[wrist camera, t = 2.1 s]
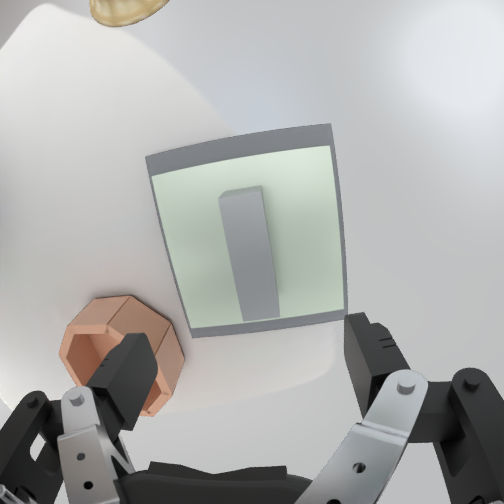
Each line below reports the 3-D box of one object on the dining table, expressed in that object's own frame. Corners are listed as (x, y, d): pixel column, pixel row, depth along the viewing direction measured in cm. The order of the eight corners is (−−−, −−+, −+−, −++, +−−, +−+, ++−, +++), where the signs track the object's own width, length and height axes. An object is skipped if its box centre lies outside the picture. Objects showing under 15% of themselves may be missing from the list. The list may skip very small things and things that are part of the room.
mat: (148, 156, 20) (145, 156, 19) (329, 124, 19) (330, 123, 18) (193, 334, 25) (192, 338, 24) (346, 314, 24) (348, 318, 23)
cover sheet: (155, 175, 20) (133, 181, 16) (327, 145, 19) (340, 145, 15) (193, 322, 24) (182, 351, 20) (341, 303, 23) (353, 330, 19)
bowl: (72, 299, 24) (44, 326, 20) (162, 289, 24) (141, 322, 19) (110, 379, 28) (92, 410, 23) (194, 380, 27) (183, 417, 22)
